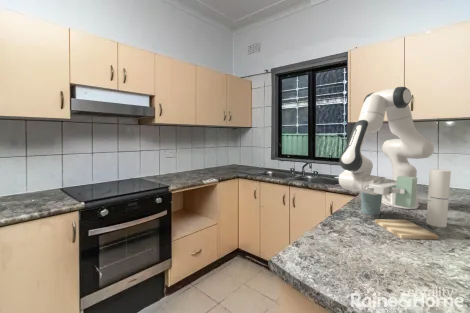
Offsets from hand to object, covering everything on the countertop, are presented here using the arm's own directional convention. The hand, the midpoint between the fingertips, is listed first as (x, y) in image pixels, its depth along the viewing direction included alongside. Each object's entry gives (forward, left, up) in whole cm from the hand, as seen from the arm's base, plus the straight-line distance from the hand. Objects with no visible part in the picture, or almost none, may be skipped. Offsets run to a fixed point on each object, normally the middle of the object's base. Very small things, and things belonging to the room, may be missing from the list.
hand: (408, 190), depth 99 cm
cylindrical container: (-9, +20, -17) cm, 28 cm away
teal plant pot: (-25, -1, -17) cm, 30 cm away
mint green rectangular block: (-1, -1, -6) cm, 7 cm away
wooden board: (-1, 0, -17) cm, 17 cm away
